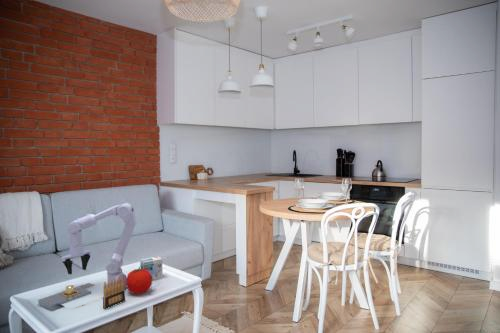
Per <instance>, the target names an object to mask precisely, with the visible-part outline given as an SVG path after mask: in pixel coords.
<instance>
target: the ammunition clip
mask: <svg viewBox="0 0 500 333" xmlns="http://www.w3.org/2000/svg"><path fill="white" fill-rule="evenodd" d="M125 292H126V290H124V284H123V278H122V276H121V278H120V280H119V277H118V278H117V283H116V279H114V286H113V280H112V279H111V286H110V282H109V280H107V282H106V281H104V283H103V297H102V308H103V309H105V310H107V309H106V308H108V307H110V308H112V307H114V306H113V305H115V304H117V305H119V304H121V303H120V302H122V303H124V302H126V293H125ZM123 301H124V302H123ZM118 303H119V304H118ZM111 306H112V307H111ZM115 306H116V305H115ZM108 309H109V308H108Z"/></svg>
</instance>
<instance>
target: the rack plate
mask: <svg viewBox="0 0 500 333" xmlns="http://www.w3.org/2000/svg"><path fill="white" fill-rule="evenodd" d="M91 294H92V290H88V289H86V288H85V289H84V288H81V287H78V286H76V287H74V294H73V295H70V296H66V290H64V291H61V292H57V293H55V294H51V295H49V296H46V297H43V298H39V299H38V300H37V302H38V303H37V304H38V305H37V306H39V305H40V307H42V308H44V309H45V310H49V311H51V312H53V311H56V310H58V309H61V308H64V307H65V305H63V304H66V303H70V302H72V301H74V300H77V299H80V298H83V297H86V296H89V295H91Z"/></svg>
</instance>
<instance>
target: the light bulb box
mask: <svg viewBox="0 0 500 333" xmlns="http://www.w3.org/2000/svg"><path fill="white" fill-rule="evenodd" d="M139 263H140V265H139V267H140V269H146V270H147V271H149V273H150V274H151V276H152V281H155V280H159V279H163V258H162V257H160V256H159V255H157V256H154V257H153V256H151V257H148V258H141V259H140V260H139Z"/></svg>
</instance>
